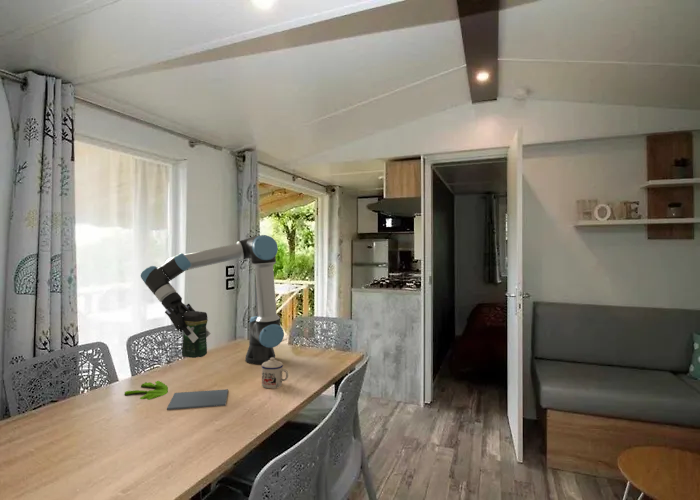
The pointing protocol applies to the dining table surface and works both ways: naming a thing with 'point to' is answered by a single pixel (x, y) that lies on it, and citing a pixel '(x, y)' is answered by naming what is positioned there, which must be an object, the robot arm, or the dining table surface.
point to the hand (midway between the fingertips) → (202, 338)
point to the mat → (198, 399)
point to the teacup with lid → (272, 373)
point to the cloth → (159, 390)
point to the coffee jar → (198, 326)
